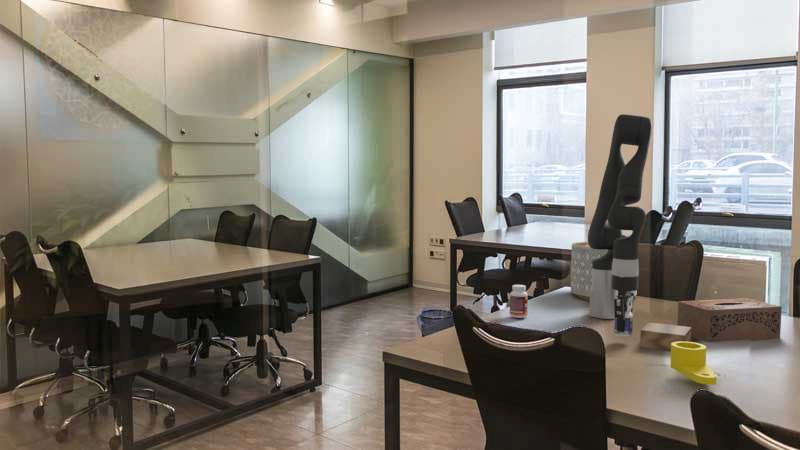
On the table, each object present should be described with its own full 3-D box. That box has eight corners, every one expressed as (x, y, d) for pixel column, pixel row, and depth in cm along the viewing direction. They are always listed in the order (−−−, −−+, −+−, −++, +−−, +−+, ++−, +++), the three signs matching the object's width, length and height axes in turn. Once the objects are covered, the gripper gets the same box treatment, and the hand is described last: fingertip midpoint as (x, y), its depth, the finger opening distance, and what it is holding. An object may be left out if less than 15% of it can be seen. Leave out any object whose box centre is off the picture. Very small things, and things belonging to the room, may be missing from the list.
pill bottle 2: (633, 337, 193) (634, 308, 193) (614, 336, 194) (615, 307, 194) (631, 333, 199) (632, 304, 198) (612, 332, 200) (613, 303, 199)
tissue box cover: (707, 343, 198) (708, 310, 197) (677, 332, 212) (678, 301, 211) (780, 338, 203) (781, 306, 203) (746, 328, 217) (747, 298, 217)
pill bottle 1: (528, 318, 231) (528, 287, 230) (510, 318, 231) (511, 287, 230) (526, 314, 237) (526, 284, 236) (508, 314, 237) (509, 284, 236)
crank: (665, 363, 176) (666, 341, 176) (698, 363, 176) (698, 341, 175) (691, 384, 158) (692, 359, 158) (727, 384, 158) (728, 360, 157)
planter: (573, 304, 255) (574, 247, 254) (567, 293, 280) (569, 241, 279) (642, 307, 251) (643, 249, 249) (630, 295, 276) (631, 242, 274)
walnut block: (640, 347, 192) (640, 330, 192) (648, 338, 202) (649, 322, 202) (684, 352, 186) (684, 335, 185) (690, 343, 196) (691, 327, 195)
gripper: (618, 269, 203) (616, 323, 204) (605, 275, 191) (603, 333, 192) (643, 271, 199) (641, 326, 200) (632, 278, 187) (630, 336, 188)
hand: (623, 329), depth 196 cm, fingers closed on pill bottle 2, 5 cm apart
